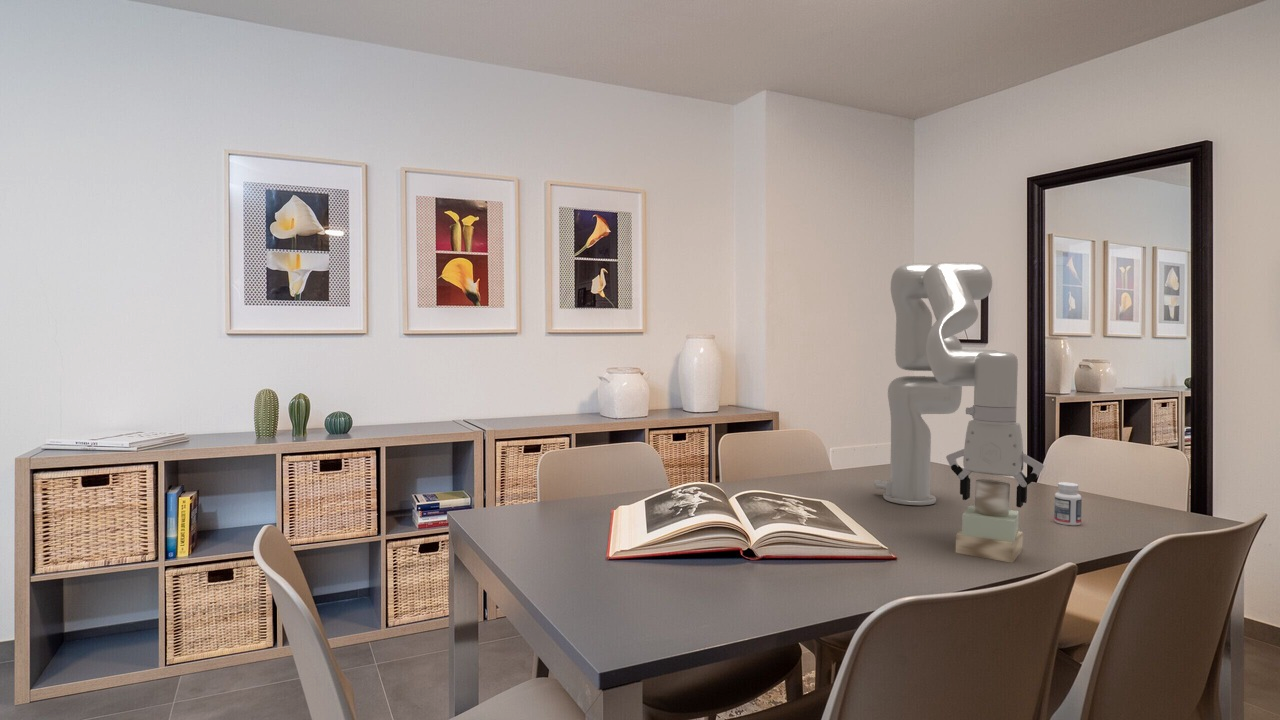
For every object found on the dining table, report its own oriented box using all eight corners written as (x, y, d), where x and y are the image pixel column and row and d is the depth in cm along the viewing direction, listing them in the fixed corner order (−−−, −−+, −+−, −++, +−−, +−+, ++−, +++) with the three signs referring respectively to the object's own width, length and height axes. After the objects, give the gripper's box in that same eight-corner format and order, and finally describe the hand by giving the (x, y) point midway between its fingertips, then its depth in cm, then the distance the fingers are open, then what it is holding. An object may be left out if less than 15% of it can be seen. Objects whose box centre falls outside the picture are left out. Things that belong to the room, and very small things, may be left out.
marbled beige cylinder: (971, 512, 142) (972, 482, 142) (978, 507, 147) (979, 477, 147) (1005, 518, 139) (1006, 486, 138) (1011, 512, 143) (1012, 482, 143)
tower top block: (961, 535, 141) (962, 514, 141) (968, 524, 149) (969, 505, 149) (1013, 542, 137) (1014, 521, 136) (1018, 531, 144) (1018, 511, 144)
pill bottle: (1074, 520, 167) (1075, 481, 167) (1085, 526, 162) (1086, 486, 162) (1049, 519, 168) (1050, 481, 168) (1060, 525, 163) (1061, 485, 162)
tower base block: (955, 554, 142) (955, 534, 142) (968, 542, 150) (968, 523, 150) (1012, 564, 136) (1012, 543, 136) (1022, 551, 144) (1023, 531, 144)
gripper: (942, 413, 144) (940, 499, 145) (1041, 420, 134) (1039, 513, 135) (952, 410, 150) (950, 493, 151) (1048, 416, 140) (1045, 505, 141)
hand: (992, 502), depth 143 cm, fingers open, 9 cm apart
